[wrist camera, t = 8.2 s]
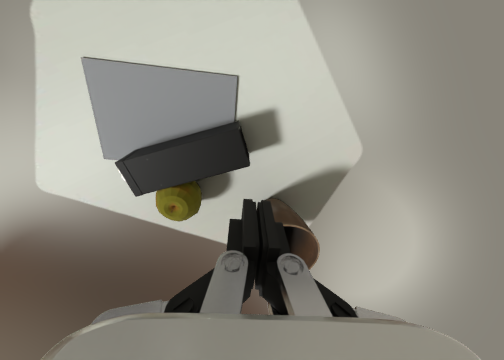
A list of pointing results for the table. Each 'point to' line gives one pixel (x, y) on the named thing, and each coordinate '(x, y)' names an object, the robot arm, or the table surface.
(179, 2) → the table surface
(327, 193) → the table surface
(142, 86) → the mat
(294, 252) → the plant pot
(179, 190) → the apple
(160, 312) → the robot arm
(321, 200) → the table surface
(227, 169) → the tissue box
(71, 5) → the table surface
